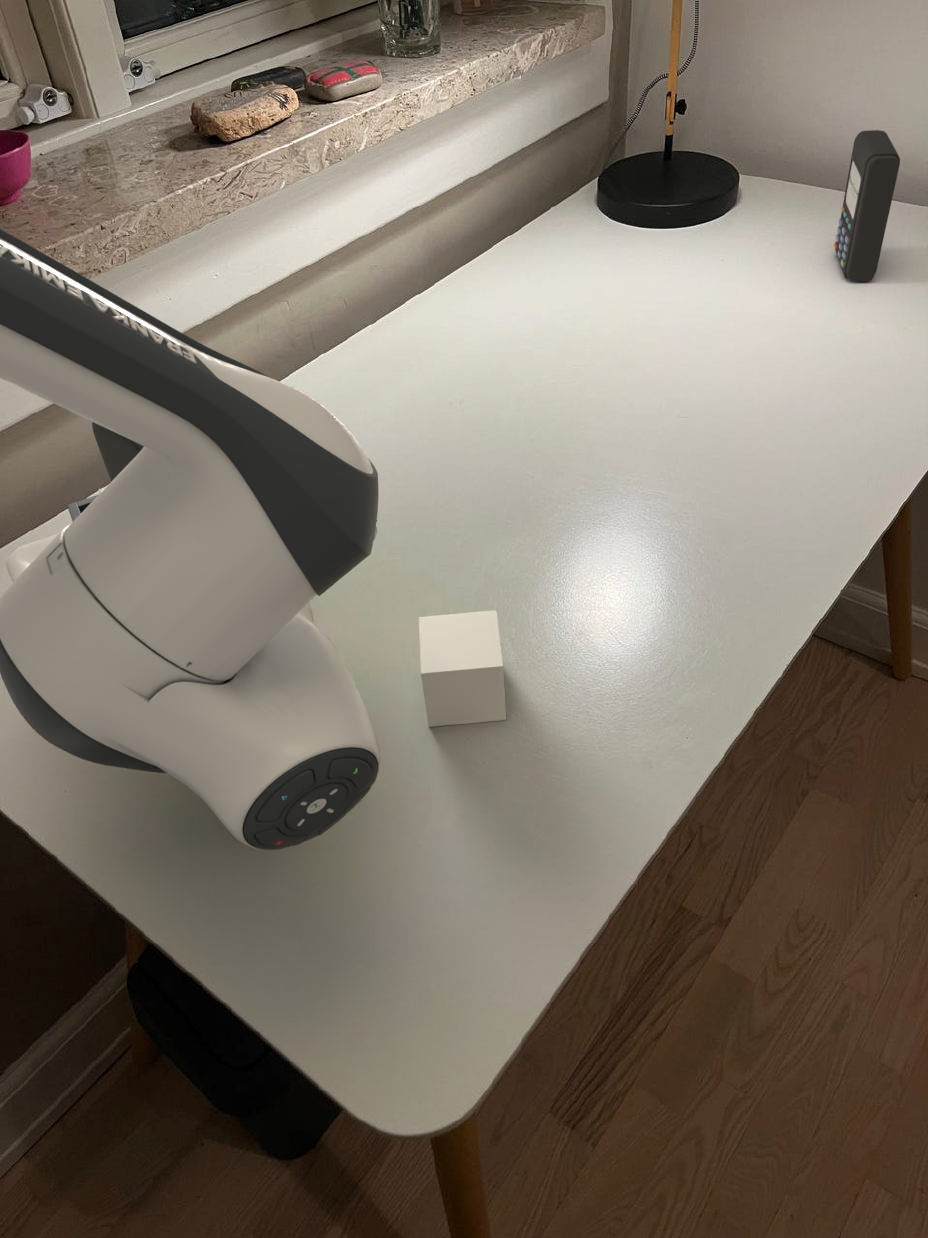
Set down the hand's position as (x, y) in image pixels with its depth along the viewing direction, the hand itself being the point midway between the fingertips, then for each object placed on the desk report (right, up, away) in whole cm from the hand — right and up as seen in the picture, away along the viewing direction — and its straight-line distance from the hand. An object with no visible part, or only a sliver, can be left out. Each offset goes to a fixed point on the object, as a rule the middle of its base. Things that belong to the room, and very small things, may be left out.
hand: (158, 479), depth 67 cm
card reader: (+68, +35, +61) cm, 98 cm away
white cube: (+20, -15, +14) cm, 29 cm away
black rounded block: (+1, -5, +4) cm, 6 cm away
